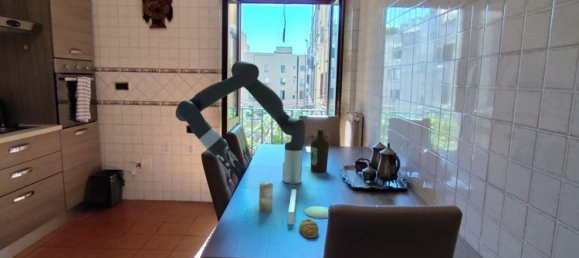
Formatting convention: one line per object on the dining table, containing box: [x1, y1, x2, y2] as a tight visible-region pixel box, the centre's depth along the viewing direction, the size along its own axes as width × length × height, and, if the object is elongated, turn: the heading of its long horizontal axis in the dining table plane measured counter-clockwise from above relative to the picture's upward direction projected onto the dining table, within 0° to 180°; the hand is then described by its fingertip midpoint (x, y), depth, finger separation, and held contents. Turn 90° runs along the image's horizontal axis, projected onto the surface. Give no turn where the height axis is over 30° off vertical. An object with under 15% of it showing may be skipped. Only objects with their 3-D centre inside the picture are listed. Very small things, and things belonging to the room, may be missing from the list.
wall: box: [287, 188, 297, 225], centre depth 148 cm, size 26×2×5 cm, turn 177°
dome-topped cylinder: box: [258, 181, 274, 213], centre depth 148 cm, size 6×6×11 cm
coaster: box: [304, 205, 329, 220], centre depth 148 cm, size 12×12×1 cm
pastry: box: [298, 218, 320, 239], centre depth 129 cm, size 9×7×4 cm
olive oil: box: [310, 127, 330, 174], centre depth 208 cm, size 11×11×25 cm
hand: (240, 172), depth 146 cm, fingers open, 8 cm apart
